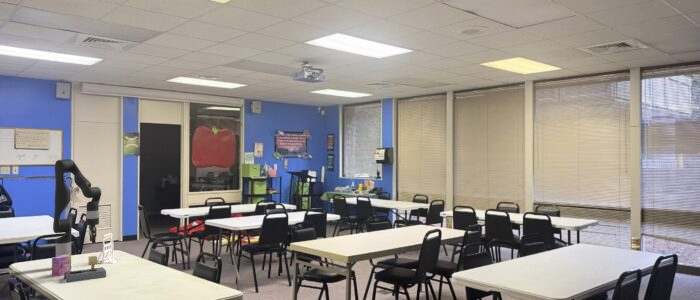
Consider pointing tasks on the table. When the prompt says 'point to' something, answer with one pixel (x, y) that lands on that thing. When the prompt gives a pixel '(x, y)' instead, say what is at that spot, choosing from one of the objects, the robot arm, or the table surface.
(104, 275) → the keyhole plate
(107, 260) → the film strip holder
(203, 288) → the table surface
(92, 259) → the brass peg
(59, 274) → the box
